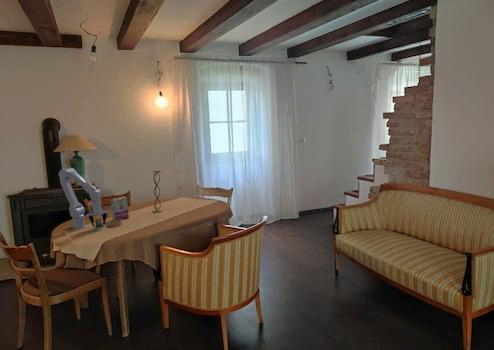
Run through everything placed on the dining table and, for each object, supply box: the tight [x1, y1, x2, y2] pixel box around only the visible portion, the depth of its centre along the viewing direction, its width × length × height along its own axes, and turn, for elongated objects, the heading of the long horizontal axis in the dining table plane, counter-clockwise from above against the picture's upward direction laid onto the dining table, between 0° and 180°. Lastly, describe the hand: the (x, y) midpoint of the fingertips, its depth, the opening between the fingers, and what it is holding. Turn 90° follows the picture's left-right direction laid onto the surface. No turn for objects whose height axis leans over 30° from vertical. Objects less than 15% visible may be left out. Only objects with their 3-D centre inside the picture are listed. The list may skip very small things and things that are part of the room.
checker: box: [90, 224, 108, 232], centre depth 260 cm, size 10×10×2 cm
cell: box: [94, 218, 103, 228], centre depth 260 cm, size 4×4×6 cm
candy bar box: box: [110, 196, 130, 220], centre depth 284 cm, size 11×5×16 cm, turn 137°
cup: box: [107, 219, 123, 228], centre depth 266 cm, size 10×10×4 cm
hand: (98, 225), depth 260 cm, fingers open, 7 cm apart
